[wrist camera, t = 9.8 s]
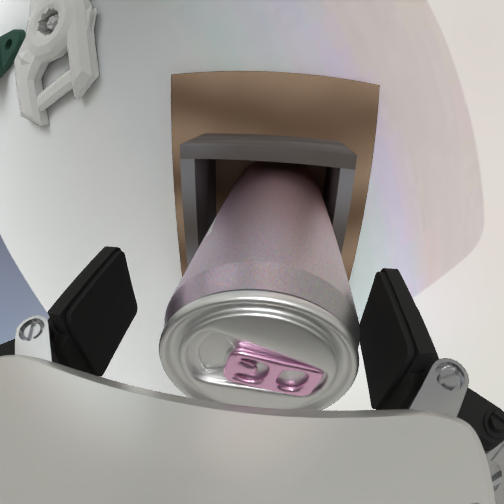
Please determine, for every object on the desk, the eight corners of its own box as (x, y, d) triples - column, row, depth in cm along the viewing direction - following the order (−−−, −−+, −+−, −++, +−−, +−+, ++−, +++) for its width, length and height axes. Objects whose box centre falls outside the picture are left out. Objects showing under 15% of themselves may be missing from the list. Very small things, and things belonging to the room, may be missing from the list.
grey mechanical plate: (6, -17, 9) (84, -72, 8) (27, -15, 12) (103, -62, 10) (17, 137, 19) (94, 102, 17) (40, 128, 21) (117, 97, 20)
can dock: (177, 75, 18) (138, 70, 13) (374, 85, 17) (407, 82, 11) (187, 284, 27) (165, 330, 21) (340, 297, 26) (350, 347, 20)
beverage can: (302, 244, 22) (311, 434, 9) (226, 220, 22) (149, 395, 9) (331, 171, 19) (409, 327, 6) (248, 143, 19) (159, 255, 6)
